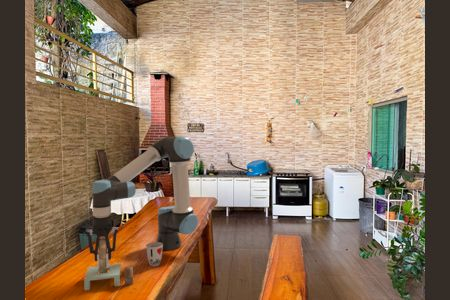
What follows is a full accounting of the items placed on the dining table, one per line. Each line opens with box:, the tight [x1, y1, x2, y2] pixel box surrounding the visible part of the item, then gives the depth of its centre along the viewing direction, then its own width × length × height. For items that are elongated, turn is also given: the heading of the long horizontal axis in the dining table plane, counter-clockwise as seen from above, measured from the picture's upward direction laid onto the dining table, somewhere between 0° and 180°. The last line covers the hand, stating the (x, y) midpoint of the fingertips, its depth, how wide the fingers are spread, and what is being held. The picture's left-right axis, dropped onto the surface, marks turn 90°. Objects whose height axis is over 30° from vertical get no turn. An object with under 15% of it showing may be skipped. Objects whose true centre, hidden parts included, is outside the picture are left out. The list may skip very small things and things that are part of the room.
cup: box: [146, 241, 163, 267], centre depth 156 cm, size 8×8×10 cm
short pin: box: [124, 266, 134, 286], centre depth 136 cm, size 3×3×7 cm
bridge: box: [83, 263, 122, 291], centre depth 138 cm, size 14×12×5 cm
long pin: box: [98, 237, 108, 274], centre depth 137 cm, size 3×3×16 cm
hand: (103, 267), depth 137 cm, fingers closed on long pin, 3 cm apart
